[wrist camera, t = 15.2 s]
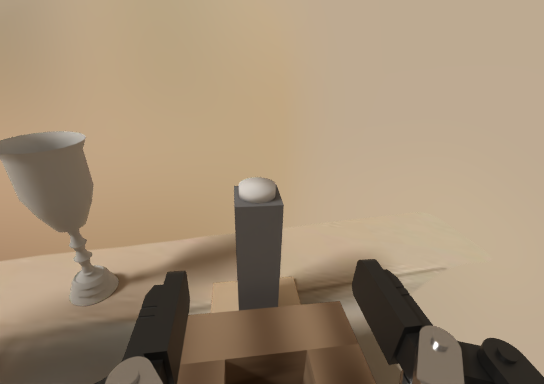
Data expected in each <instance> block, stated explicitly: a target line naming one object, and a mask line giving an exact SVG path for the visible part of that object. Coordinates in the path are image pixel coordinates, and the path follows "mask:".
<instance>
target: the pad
mask: <svg viewBox="0 0 544 384" xmlns="http://www.w3.org/2000/svg"><path fill="white" fill-rule="evenodd" d="M293 305H301V303H300V299H299V296H298V292H297V289H296V285H295V282H294V278H293V277H282V278H280V280H279V298H278V307H282V306H293ZM228 311H239V304H238V281H231V282H218V283H213V292H212V304H211V313H218V312H228Z"/></svg>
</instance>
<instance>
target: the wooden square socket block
mask: <svg viewBox="0 0 544 384" xmlns="http://www.w3.org/2000/svg"><path fill="white" fill-rule="evenodd" d="M177 384H376V382H375V380H374V378H373V375H372V373H371V371H370V369H369V366H368V364H367V362H366V360H365V357H364V355H363V353H362V351H361V348H360V346H359V344H358V342H357V339H356V337H355V335H354V332H353V330H352V328H351V326H350V323H349V321H348V319H347V317H346V314H345V312H344V310H343V308H342V305H341V303H340V301H336V302H325V303H314V304H304V305H293V306H282V307H271V308H261V309H250V310H239V311H228V312H218V313H207V314H196V315H188V319H187V326H186V332H185V338H184V344H183V350H182V356H181V362H180V369H179V375H178V381H177Z"/></svg>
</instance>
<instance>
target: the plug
mask: <svg viewBox="0 0 544 384" xmlns="http://www.w3.org/2000/svg"><path fill="white" fill-rule="evenodd" d="M234 200H235V201H234V203H235V230H236V255H237V280H238V304H239V310H250V309H261V308H271V307H278V298H279V280H280V262H281V243H282V223H283V206H284V205H283V202H282V199H281V197H280V194H279V191H278V188H277V185H276V184H275V182H274V181H272V180H270V179H267V178H261V177H255V178H247V179H245V180H242V181H241V182H240V183H239V186H234Z"/></svg>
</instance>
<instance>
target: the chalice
mask: <svg viewBox="0 0 544 384" xmlns="http://www.w3.org/2000/svg"><path fill="white" fill-rule="evenodd" d="M84 142H85V135H83V134H81V133H77V132H64V131H59V132H43V133H34V134H28V135H21V136H16V137H12V138H8V139H4V140H1V141H0V160H1V161H2V163H3V165H4V167H5V170H6V172H7V174H8V176H9V179H10V181H11V182H12V185H13V187H14V190H15V192H16V194H17V196H18V199H19V200H20V201H21V202H22V203H23V204H24V205H25V206H26V207H27V208H28V209H29V210H30V211H31V212H32V213H33V214H34V215H36V217H38V218H39V219H40V220H42V221H43V222H45V223H46V224H47V225H49V226H50V227H52V228H53V229H55V230H56V231H58V232H68V233H69V235H70V239H71V243H70V245H69V246H70V247H71V248H73V249H74V250H75V251H76V256H75V257H74V261H75V262H79V263H80V265H81V266H82V270H81V271H80V272H78V273H77V274H76V275H75V277H74V279H73V281H72V287H71V293H70V295H69V299H70V302H71V303H72V304H74V305H77V306H88V305H92V304H95V303H98V302H100V301H102V300H104V299H105V298H107V297H109V296H110V295H111V294H112V293H113V292H114V291H115V290H116V288H117V286H118V282H119V281H118V278H117V277H116V276H115V275H114V274H112V272H110V271H109V270H108V269H107V268H106V267H102V266H92V265H91V263H90V257H91V256H92V253H91V252H89V251H87V250H86V249H85V244H86V241H87V240H86V239H84V238H83V237H82V236H81V235H80V233H79V228H80V227H82V226H83V225H85V224H86V221H87V218H88V214H89V209H90V206H91V202H92V194H93V182H92V178H91V175H90V172H89V168H88V165H87V162H86V158H85V155H84V152H83V146H84Z"/></svg>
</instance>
